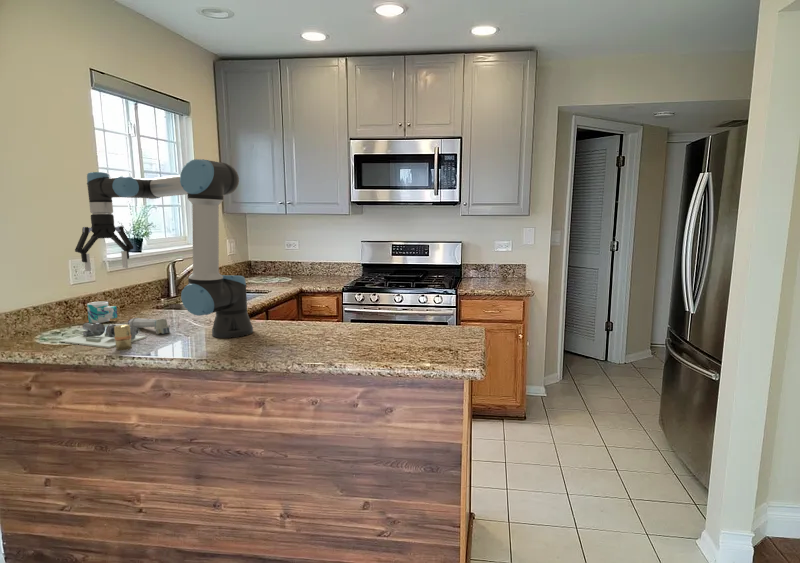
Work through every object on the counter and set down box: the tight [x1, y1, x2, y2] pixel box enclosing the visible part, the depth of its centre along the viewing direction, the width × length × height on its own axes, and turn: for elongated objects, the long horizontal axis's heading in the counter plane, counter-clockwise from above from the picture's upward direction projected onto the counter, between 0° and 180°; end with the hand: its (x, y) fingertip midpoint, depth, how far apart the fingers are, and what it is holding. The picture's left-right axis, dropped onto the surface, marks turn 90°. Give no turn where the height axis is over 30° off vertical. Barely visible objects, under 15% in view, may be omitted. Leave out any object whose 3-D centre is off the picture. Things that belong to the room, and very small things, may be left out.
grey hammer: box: [127, 317, 171, 335], centre depth 198 cm, size 5×7×25 cm
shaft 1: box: [82, 322, 106, 337], centre depth 188 cm, size 10×5×5 cm, turn 54°
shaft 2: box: [105, 323, 139, 339], centre depth 182 cm, size 10×5×5 cm, turn 84°
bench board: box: [58, 331, 147, 349], centre depth 183 cm, size 26×15×2 cm, turn 69°
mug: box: [86, 300, 118, 324], centre depth 217 cm, size 8×12×8 cm
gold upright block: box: [114, 324, 133, 351], centre depth 171 cm, size 5×5×8 cm
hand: (107, 269), depth 189 cm, fingers open, 13 cm apart
